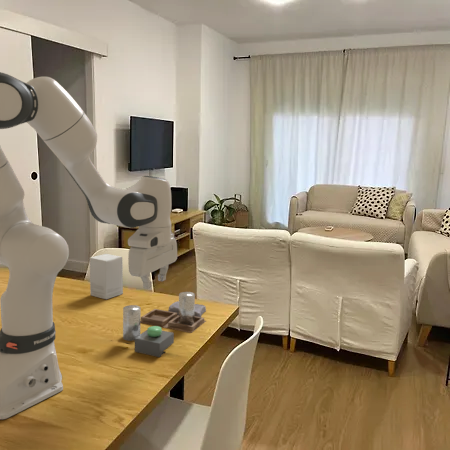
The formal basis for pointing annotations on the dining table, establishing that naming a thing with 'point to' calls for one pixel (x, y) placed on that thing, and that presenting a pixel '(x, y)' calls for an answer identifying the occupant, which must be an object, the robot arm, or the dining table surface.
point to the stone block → (197, 312)
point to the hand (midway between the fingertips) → (154, 284)
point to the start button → (154, 331)
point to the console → (153, 343)
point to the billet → (131, 322)
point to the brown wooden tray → (170, 320)
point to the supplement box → (106, 276)
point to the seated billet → (186, 308)
